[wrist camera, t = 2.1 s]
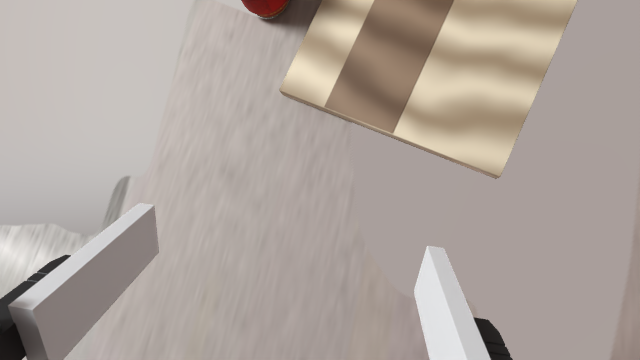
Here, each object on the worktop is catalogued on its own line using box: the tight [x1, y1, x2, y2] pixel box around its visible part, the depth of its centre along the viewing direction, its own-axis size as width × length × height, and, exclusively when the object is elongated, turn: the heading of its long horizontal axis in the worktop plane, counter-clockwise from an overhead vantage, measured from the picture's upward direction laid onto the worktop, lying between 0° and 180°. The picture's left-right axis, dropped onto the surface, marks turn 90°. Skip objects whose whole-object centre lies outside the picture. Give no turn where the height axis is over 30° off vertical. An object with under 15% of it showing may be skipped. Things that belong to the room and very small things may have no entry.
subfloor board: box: [279, 0, 578, 179], centre depth 40 cm, size 24×28×2 cm
